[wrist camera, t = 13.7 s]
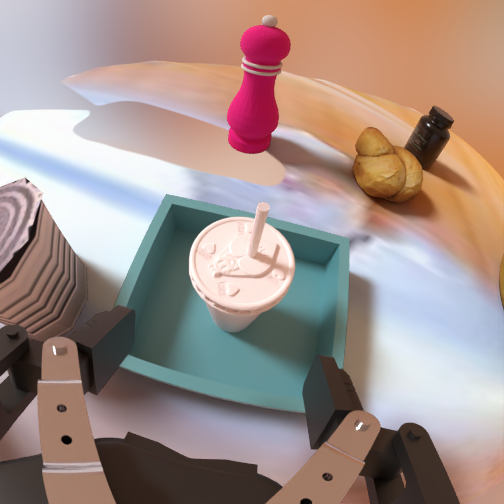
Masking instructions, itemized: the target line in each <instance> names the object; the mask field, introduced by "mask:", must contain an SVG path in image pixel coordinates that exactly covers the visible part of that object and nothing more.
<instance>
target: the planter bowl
mask: <svg viewBox="0 0 504 504" xmlns="http://www.w3.org/2000/svg"><path fill="white" fill-rule="evenodd" d="M500 292H501V298H502V303H503V307H504V255H503V258H502V262H501V266H500Z"/></svg>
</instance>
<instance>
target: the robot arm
mask: <svg viewBox="0 0 504 504" xmlns="http://www.w3.org/2000/svg"><path fill="white" fill-rule="evenodd" d="M135 316H136V314H135V310H134V309H131V308H128V307H125V306H122V305H117V306H116V307H115V308H114V309H113V310H111V311H110V312H107V311H105V312H102V313H99V314H96V315H95V316H94V317H93V318H91V319H90V321H88V322H87V323H85V325H83V326H82V327H80V328H79V329H78V330H77V331H75V332H74V333H73V334H72V335H71V336H69V337H68V338H66V337H52V338H50V339H48V340H46V341H45V342H44V344H43V343H39V342H35V341H31V340H29V338H28V333H27V330H26V329H25V328H24V327H22V326H19V325H7V326H4V327H2V328H1V329H0V376H1V375H2V374H3V373H4V372H5V371H8V374H9V376H8V377H7V378H6V379H5V380H4V381H3V382H2V383H1V384H0V440H1V439H2V438H3V436H4V435H5V434H6V432H7V431H8V430H9V428H10V427H11V426H12V425H13V423H14V422H15V421H16V420H17V418H18V417H19V416H20V415H21V413H22V412H23V411H24V410H25V409H26V407H27V406H28V405H29V404H30V402H31V401H32V400H33V399H34V398H35V397H36V395H37V394H38V419H39V432H40V442H41V450H42V454H38V455H34V456H29V457H24V458H19V459H14V460H8V461H2V462H0V504H340V503H341V501H342V500H343V498H344V497H345V495H346V494H347V492H348V491H349V489H350V488H351V486H352V485H353V483H354V481H355V480H356V478H357V477H358V475H360V476H365V479H366V484H367V489H368V494H369V499H370V504H460V503H459V500H458V498H457V496H456V493H455V491H454V488H453V486H452V484H451V481H450V479H449V477H448V475H447V472H446V470H445V468H444V466H443V463H442V461H441V459H440V457H439V455H438V453H437V451H436V449H435V447H434V444H433V442H432V440H431V438H430V436H429V434H428V433H427V431H426V430H425V429H424V428H423V427H422V426H420V425H418V424H415V423H405V424H403V425H402V426H401V427H400V428H399V430H398V431H394V430H390V429H385V428H382V427H381V426H380V423H379V421H378V419H377V418H376V417H375V416H373V415H372V414H370V413H368V412H365V411H364V410H363V408H362V405H361V403H360V400H359V398H358V396H357V393H356V392H355V388H354V386H353V383H352V381H351V379H350V376H349V375H348V374H347V373H346V372H345V371H344V370H343V369H339V368H338V366H337V363H336V361H335V358H334V357H331V356H324V355H316V356H315V358H314V360H313V363H312V365H311V367H310V370H309V372H308V375H307V377H306V379H305V382H304V385H303V390H302V395H303V401H304V407H305V414H306V420H307V426H308V433H309V439H310V446H311V449H318V450H317V452H316V453H315V454H314V455H313V456H312V457H311V458H310V460H309V461H308V462H307V463H306V464H305V465H304V466H303V467H302V468H301V469H300V470H299V471H298V473H297V474H296V475H295V476H294V477H293V478H292V479H291V480H290V481H289V482H288V483H287V484H286V485H285V486H284V487H282V486H281V485H280V484H278V483H277V482H275V481H273V480H272V479H270V478H268V477H265V476H263V475H261V474H258V473H257V465H255V464H248V463H242V462H236V461H230V460H218V459H192V458H188V457H186V456H184V455H181V454H179V453H178V452H176V451H174V450H172V449H170V448H168V447H166V446H164V445H162V444H161V443H159V442H156V441H153V440H150V439H147V438H144V437H141V436H139V435H136V434H133V433H131V432H128V433H127V435H126V437H125V439H121V438H98V439H94V438H93V434H92V430H91V426H90V422H89V417H88V413H87V408H86V403H85V398H84V395H85V394H86V392H87V391H88V392H91V393H93V394H95V395H98V393H99V392H100V391H101V389H102V388H103V387H104V385H105V384H106V383H107V381H108V380H109V379H110V378H111V376H112V375H113V374H114V372H115V371H116V370H117V368H118V367H119V366H120V365H121V363H122V362H123V361H124V359H125V358H126V357H127V356H128V354H129V353H130V352H131V350H132V347H133V344H134V335H135ZM402 471H403V474H404V477H405V480H406V487H405V488H404V484H403V481H402V478H401V475H400V473H401V472H402Z"/></svg>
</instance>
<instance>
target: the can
mask: <svg viewBox="0 0 504 504" xmlns="http://www.w3.org/2000/svg"><path fill="white" fill-rule="evenodd" d="M42 196H43V193H42V192H41V191H40V190H39V189H38V188H37V187H35V186H34V185H33V184H32V183H31V182H30V181H29V180H27V179H26V178H23V179H20V180H17V181H15V182H12V183H9V184H7V185H4V186H2V187H0V322H1V323H3V324H4V325H6V326H7V325H19V326H22V327H24V328H25V329H26V330H27V333H28V338H31V339H35V340H39V341H43V342H45V341H46V340H48V339H50V338H52V337H59V336H60V335H62V334H64V333H65V332H67V331H69V330H71V329H72V328H73V327H74V325H75V323H76V321H77V319H78V317H79V315H80V313H81V311H82V309H83V307H84V305H85V303H86V301H87V299H88V295H87V277H86V268H85V266H84V265H83V264H82V262H81V261H80V259H79V258H78V257H77V255H76V254H75V252H74V251H73V249H72V248H71V246H70V245H69V243H68V242H67V240H66V239H65V237H64V236H63V234H62V233H61V231H60V229H59V228H58V226H57V225H56V223H55V221H54V220H53V218H52V217H51V215H50V213H49V212H48V210H47V208H46V206H45V205H44V203H43V201H42V200H41V198H42Z"/></svg>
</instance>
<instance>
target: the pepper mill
mask: <svg viewBox="0 0 504 504" xmlns="http://www.w3.org/2000/svg"><path fill="white" fill-rule="evenodd" d="M262 23H263V25H258V26H254V27H251V28H249V29H248V30H247V31H246V32H244V34H243V36H242V38H241V42H240V47H241V50H242V51H243V53H244V54H245V57H243V59H242V61H243V64H242V65H241V67H242V69H243V70H244V78H243V83H242V86H241V88H240V90H239V92H238V93H237V95H236V96H235V98H234V99H233V101H232V103H231V105H230V107H229V109H228V114H227V121H228V124H229V125H230V127H231V128H230V130H229V136H228V141H229V144H230V145H231V146H232V147H233V148H234V149H236V150H237V151H240V152H243V153H249V154H256V153H261V152H263V151H265V150H267V149H268V148H269V145H270V141H271V133H272V132H273V131H274V130H275V129H276V128H277V125H278V120H279V114H278V108H277V104H276V101H275V97H274V85H275V79H276V76H277V75H278V74H280V73H281V67H282V63H281V62H280V61H281V60H282V59H284V58H285V57H286V56H287V55H288V54H289V51H290V45H291V44H290V39H289V37H288V35H287V34H286V33H285V32H284V31H282V30H281V29H279V28H276V27H275V26H276V24H277V19H276V17H274V16H272V15H267V16H265V17H264V18H263V19H262Z"/></svg>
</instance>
